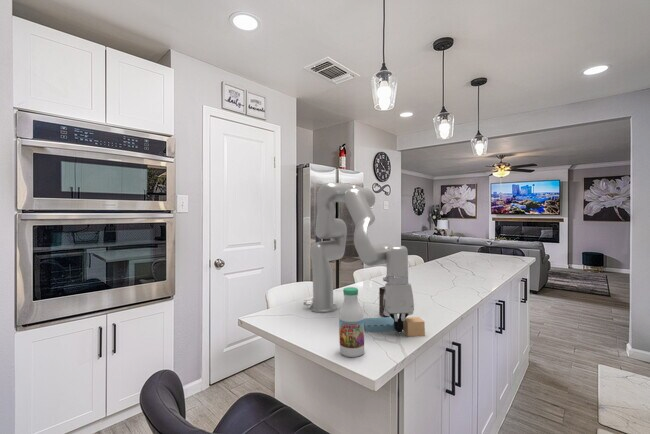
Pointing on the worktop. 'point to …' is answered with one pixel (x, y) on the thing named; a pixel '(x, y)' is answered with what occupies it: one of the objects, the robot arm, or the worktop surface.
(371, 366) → the worktop surface
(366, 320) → the blue flat block
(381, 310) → the box
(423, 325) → the tan block
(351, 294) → the milk bottle
